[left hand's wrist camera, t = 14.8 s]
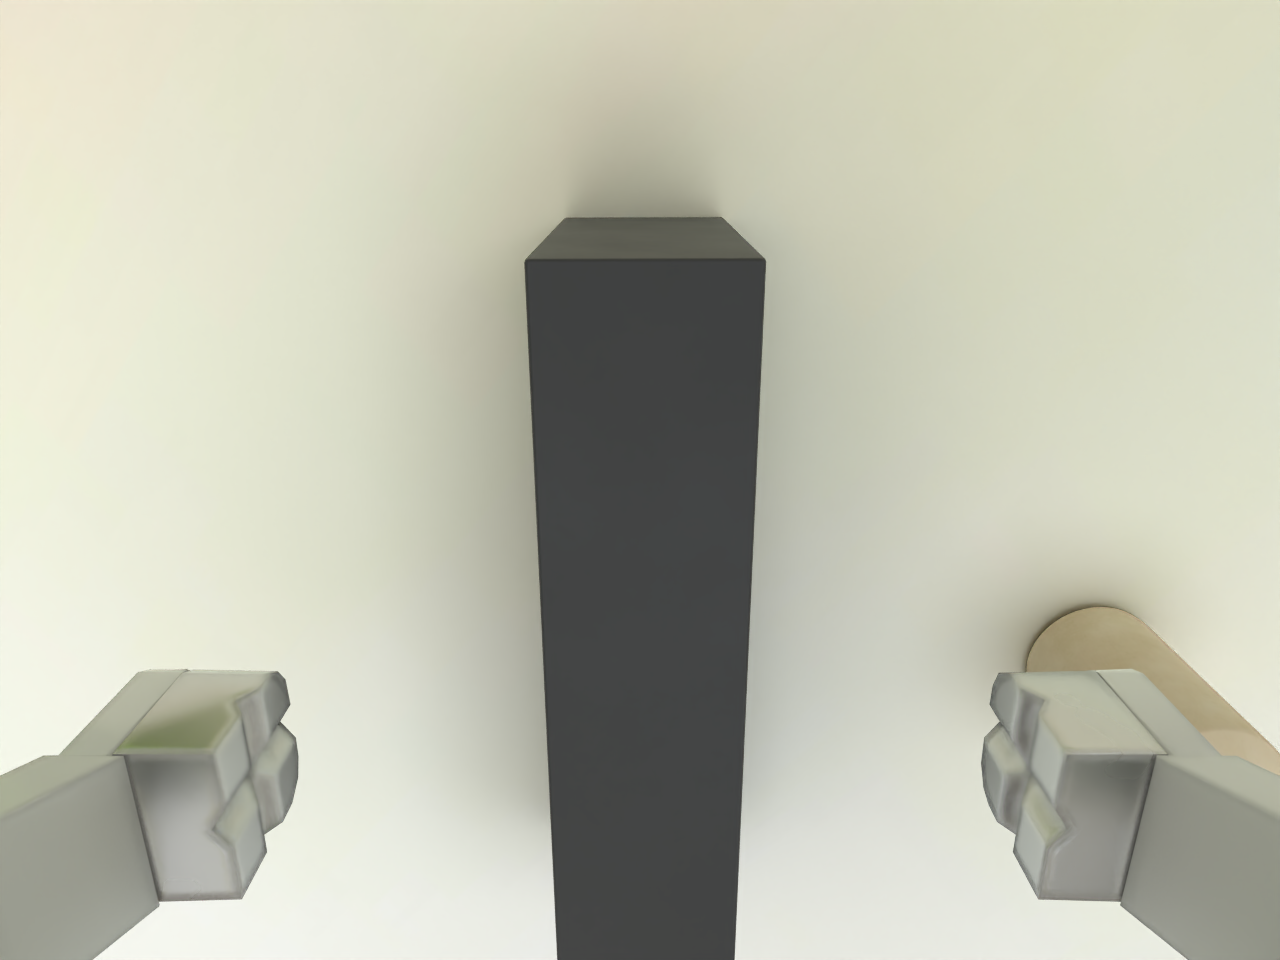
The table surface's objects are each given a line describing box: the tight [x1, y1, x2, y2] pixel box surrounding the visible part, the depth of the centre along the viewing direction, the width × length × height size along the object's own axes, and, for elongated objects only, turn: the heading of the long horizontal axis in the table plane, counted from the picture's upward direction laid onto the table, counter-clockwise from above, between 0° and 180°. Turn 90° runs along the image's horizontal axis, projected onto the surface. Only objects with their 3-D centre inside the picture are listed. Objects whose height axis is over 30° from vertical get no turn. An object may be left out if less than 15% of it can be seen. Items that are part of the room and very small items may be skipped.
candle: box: [1026, 607, 1280, 776], centre depth 34 cm, size 6×6×10 cm
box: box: [524, 217, 766, 960], centre depth 32 cm, size 28×6×12 cm, turn 0°
